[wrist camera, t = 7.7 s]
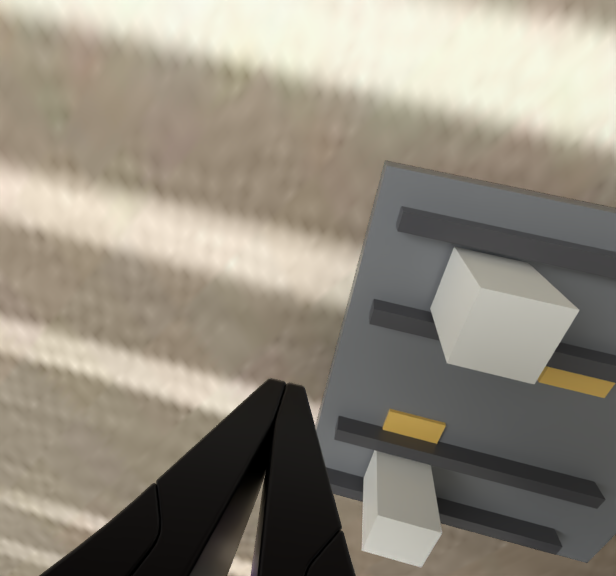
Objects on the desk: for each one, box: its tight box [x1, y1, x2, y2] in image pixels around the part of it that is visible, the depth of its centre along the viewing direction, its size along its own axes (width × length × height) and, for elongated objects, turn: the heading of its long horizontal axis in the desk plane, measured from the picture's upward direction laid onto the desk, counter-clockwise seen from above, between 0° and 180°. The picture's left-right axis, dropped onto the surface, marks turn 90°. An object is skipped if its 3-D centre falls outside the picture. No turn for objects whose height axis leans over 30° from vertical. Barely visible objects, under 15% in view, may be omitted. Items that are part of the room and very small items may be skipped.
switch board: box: [315, 161, 616, 563], centre depth 18 cm, size 18×20×3 cm
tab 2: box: [430, 247, 579, 384], centre depth 13 cm, size 3×3×4 cm
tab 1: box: [362, 450, 442, 567], centre depth 19 cm, size 3×3×4 cm
